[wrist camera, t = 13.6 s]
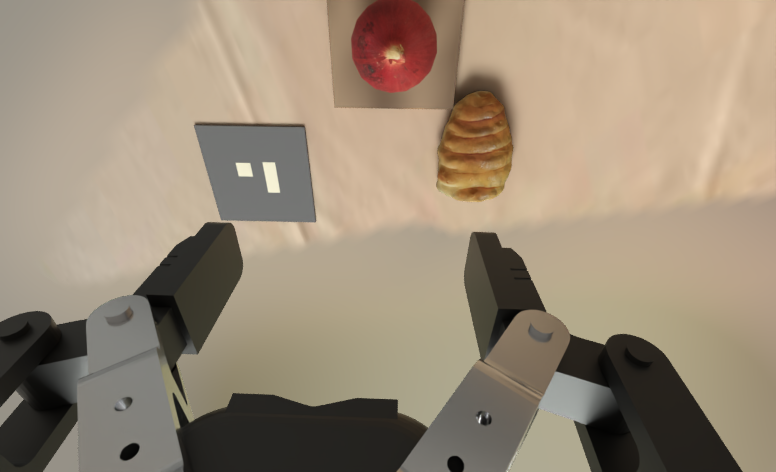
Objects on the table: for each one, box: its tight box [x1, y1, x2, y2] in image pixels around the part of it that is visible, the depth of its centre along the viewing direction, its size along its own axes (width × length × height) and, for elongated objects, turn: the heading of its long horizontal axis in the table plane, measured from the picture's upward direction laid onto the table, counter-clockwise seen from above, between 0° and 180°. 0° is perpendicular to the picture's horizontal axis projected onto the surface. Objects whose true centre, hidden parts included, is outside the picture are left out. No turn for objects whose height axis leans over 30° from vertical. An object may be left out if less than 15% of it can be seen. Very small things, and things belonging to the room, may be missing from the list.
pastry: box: [436, 91, 513, 202], centre depth 32 cm, size 9×7×4 cm
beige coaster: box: [327, 0, 465, 109], centre depth 28 cm, size 10×10×1 cm
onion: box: [351, 0, 437, 93], centre depth 25 cm, size 6×6×8 cm
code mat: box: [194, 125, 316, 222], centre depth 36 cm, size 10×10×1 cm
